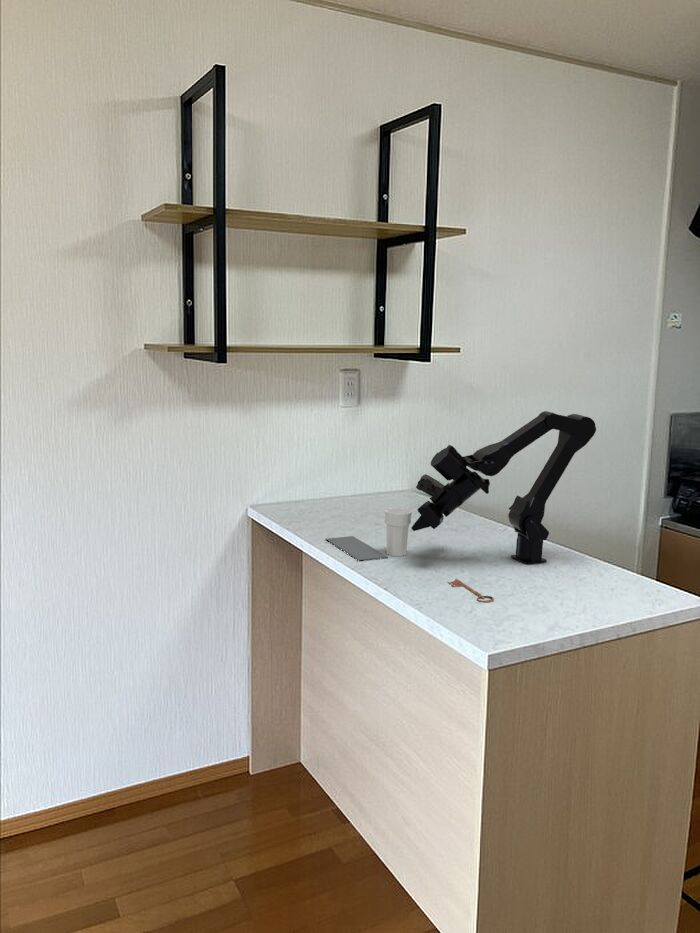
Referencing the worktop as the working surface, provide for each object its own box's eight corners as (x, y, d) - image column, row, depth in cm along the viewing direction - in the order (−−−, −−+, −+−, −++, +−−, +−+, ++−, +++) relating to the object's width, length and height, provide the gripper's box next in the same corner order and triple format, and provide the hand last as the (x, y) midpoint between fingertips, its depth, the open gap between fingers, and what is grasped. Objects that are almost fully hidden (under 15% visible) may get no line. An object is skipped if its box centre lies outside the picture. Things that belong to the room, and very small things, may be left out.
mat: (387, 558, 205) (388, 556, 205) (358, 561, 201) (358, 559, 201) (352, 537, 222) (352, 536, 222) (325, 540, 219) (325, 538, 219)
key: (441, 584, 188) (472, 606, 174) (440, 581, 188) (472, 602, 174) (463, 581, 190) (496, 602, 176) (463, 577, 190) (496, 598, 176)
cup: (413, 552, 211) (415, 510, 209) (403, 558, 205) (405, 515, 203) (389, 548, 213) (391, 506, 211) (379, 554, 207) (380, 512, 205)
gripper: (446, 459, 210) (401, 497, 216) (428, 471, 193) (380, 512, 198) (474, 493, 209) (429, 530, 215) (459, 508, 192) (410, 548, 197)
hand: (412, 529), depth 206 cm, fingers closed
